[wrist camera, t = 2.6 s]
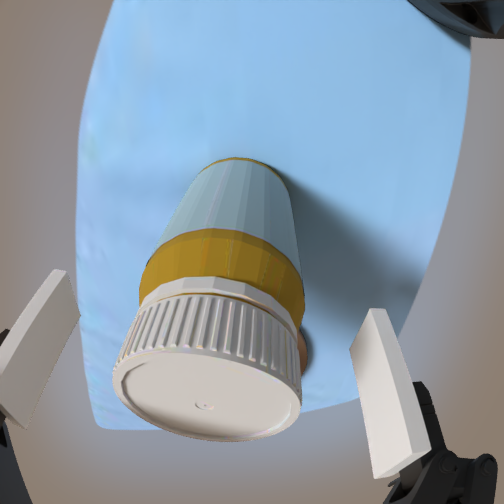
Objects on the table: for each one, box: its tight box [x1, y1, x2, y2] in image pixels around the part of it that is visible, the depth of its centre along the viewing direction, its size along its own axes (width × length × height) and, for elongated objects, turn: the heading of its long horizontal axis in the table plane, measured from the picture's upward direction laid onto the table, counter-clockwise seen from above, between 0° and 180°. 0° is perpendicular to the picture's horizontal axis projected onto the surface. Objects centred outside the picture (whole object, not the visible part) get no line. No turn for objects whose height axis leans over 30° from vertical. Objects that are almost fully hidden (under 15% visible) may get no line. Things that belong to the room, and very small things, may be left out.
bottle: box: [113, 157, 305, 442], centre depth 15 cm, size 7×7×15 cm
